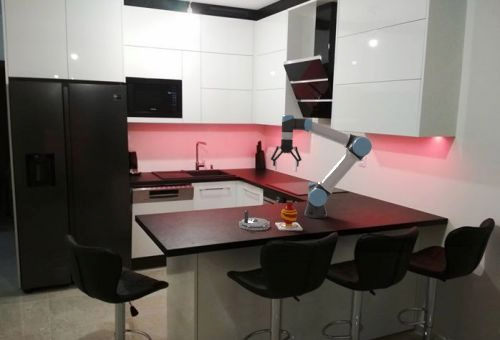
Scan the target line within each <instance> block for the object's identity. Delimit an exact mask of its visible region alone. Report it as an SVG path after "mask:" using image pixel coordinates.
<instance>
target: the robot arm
mask: <svg viewBox="0 0 500 340" xmlns="http://www.w3.org/2000/svg"><path fill="white" fill-rule="evenodd" d="M281 118H282V119H281V135H280V136H281V137H280V138H281V139H280V146H278V145H276V146H275V149H274V152H273V154H272V155H271V157H270V161H272V166H273V167H274V172H277V160H278V159H279V158H280V156H282V154H290V155H291V156H292V158H294V160H295V162H294V172H296V173H297V172H298V167H299V166H300V165H299V164H300V162H301V161H303V160H302V157H301V155H300V152H299V150H298V146H293V144H294V143H293V142H294V140H293V139H294V131H305V132H308V133H310V134H312V135H315V136H318V137H321V138H324V139H326V140H329V141H331V142H334V143H336V144H339V145H342V146H343V147H344V148H346V149H345V154H344V155H343V156H342V158H340V160H339V161H338V162H337V163H336V164H335V165H334V167H332V168H331V170H330V171H329V172H328V173H327V174H326V176H325V177H324V178H323V179H322V180H321V181H318V182H309V183H308V186H307V187H308V190H307V205H306V208H305V210H304V216H305V217H307V218H310V219H325V218H327V215H328V214H327V209H326V207H325V205H326V203H327V201H328V199H329V198H330V196H331V195H332V194H333V189H334V188H335V187H336V186H337V185H338V184H339V182H341V180H342V179H343V178H344V177H345V176H346V175H347V174H348V172H350V170H351V169H352V168H353V167H354V165H355V164H356V163H357V162H361V161H363V159H364V158H365V157H366V156H367V155H369V154H370V153H371V152H372V149H373V146H372V145H373V144H372V142H371V141H370V139H369V138H368V137H366V136H361V135H357V134H356V135H355V134H352V133H348V134H347V133H345V132H342V131H339V130H336V129H334V128H331V127H328V126H325V125H323V124H321V123H317V122H315V121H313V118H308V117H307V118H297V117H295V116H294V114H283V115H282V117H281ZM279 150H280V151H279ZM293 150H294V151H295V153H296V155H295V154H294V152H293ZM278 151H279V153H278Z"/></svg>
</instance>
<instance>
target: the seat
mask: <svg viewBox="0 0 500 340" xmlns="http://www.w3.org/2000/svg"><path fill="white" fill-rule="evenodd" d="M292 225H293V226H285V222H275V226H276V227H277V229H278V230H279V231H303V228H302V226H301V225H300V224H299V223H298V222H293V223H292Z"/></svg>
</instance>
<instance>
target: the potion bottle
mask: <svg viewBox="0 0 500 340" xmlns="http://www.w3.org/2000/svg"><path fill="white" fill-rule="evenodd" d="M285 205H286V206H285V208H283V209H282V210H281V213H280V217H281V220H282V222H283V223H285V226H293V225H292V223H295V222H296V221H297V217H298V211H297V210H296V208H294V207H293V205H294V202H293V200H286V203H285Z"/></svg>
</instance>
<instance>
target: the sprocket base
mask: <svg viewBox="0 0 500 340" xmlns="http://www.w3.org/2000/svg"><path fill="white" fill-rule="evenodd" d="M238 227H239V229H243V230H245V231H251V230H252V231H253V232H258V231H267V230H269V229H271V225H270V224H268V225H267V226H266V227H261V228H251V227H246V226H243V225H242V224H239V223H238Z"/></svg>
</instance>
